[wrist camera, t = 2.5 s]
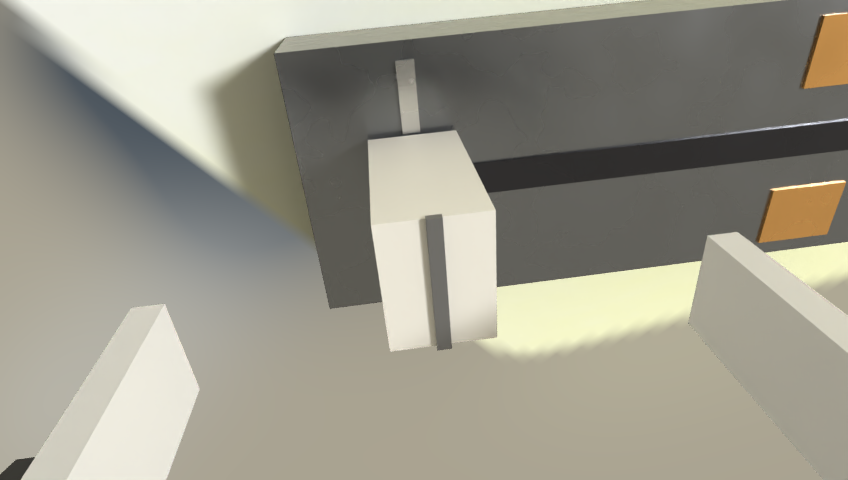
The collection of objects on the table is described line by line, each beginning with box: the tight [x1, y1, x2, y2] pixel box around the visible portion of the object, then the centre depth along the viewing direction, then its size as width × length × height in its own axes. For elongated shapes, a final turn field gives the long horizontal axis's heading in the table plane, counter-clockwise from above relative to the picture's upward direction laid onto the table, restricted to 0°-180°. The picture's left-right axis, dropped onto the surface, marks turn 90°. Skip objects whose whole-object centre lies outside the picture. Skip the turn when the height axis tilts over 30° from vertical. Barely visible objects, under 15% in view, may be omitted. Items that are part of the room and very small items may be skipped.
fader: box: [368, 130, 497, 351], centre depth 16 cm, size 4×3×6 cm
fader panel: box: [274, 0, 848, 309], centre depth 20 cm, size 10×24×3 cm, turn 95°
